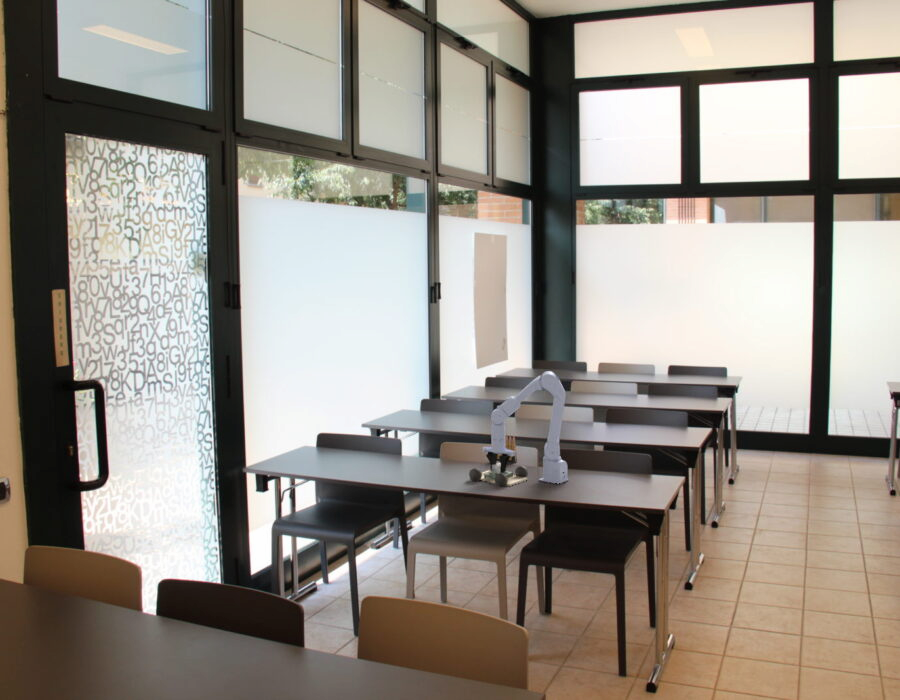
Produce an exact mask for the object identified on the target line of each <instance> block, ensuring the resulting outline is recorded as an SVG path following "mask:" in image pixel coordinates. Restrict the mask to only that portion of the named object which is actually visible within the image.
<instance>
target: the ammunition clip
mask: <svg viewBox="0 0 900 700" xmlns="http://www.w3.org/2000/svg"><path fill="white" fill-rule="evenodd" d="M508 437H509V438H508ZM505 448H506V449H509V450H512V451H515V456H511V457H510V459H509V461H508V463H507V464H516V463H517V461H518V460H517V459H518V458H517V446H516V438H515V436H514V435H513V437H512V436H511V435H509V436H508V435H506V434H505ZM501 455H502V454H498V455H497V461H498V462H500V458H499V456H501Z"/></svg>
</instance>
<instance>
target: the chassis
mask: <svg viewBox="0 0 900 700" xmlns="http://www.w3.org/2000/svg"><path fill="white" fill-rule="evenodd" d="M496 463H500V462H499V461H496ZM489 465H490V464H489ZM489 468H490V469H489V470H486V471H483V472H482V471H481V469H480V468H478V467H475V468H472V469H470V470H469V473H468V476H469V479H470V478H471V479H470V480H471V481H473V480H474V481H473V482H478V481H479V480H483V481H482V482H484V481H487V482H486V483H489V482H492V483H491V484H494V483H496V484H495V485H497V486H498V485H500V486H499V487H504V485H506V487H509V486H511V487H513V486H515V484H516V485H518V483H519V484H521V483H524V482H526V480H527V481H528V476H529V471H528V470H529V469H528V468H527V467H526V466H525V465H521V466H520V465H519V466H518V467H516V469H515V473H514V472H512V471H508V470H507V474H504V473H500V474H497V475H492V469H491V465H490V466H489ZM514 474H515V475H514ZM477 480H478V481H477ZM523 481H524V482H523ZM512 485H513V486H512Z"/></svg>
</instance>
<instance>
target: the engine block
mask: <svg viewBox="0 0 900 700" xmlns="http://www.w3.org/2000/svg"><path fill="white" fill-rule="evenodd" d="M507 471H508V465H507V466H506V470H505V472H503V473H504V474H507ZM500 473H501V463H496V464H493V465H492V475H497V474H500Z"/></svg>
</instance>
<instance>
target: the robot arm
mask: <svg viewBox="0 0 900 700" xmlns="http://www.w3.org/2000/svg"><path fill="white" fill-rule="evenodd" d="M543 389H544V390H546V391H548V392H549V393H550V394H551V395H552V397H553V400H552V401H553V402H552V407H551V414H550V415H551V416H550V422H549V423H550V424H549V431H548V435H547V440H546V442H545V444H544V446H543V448H544V450H543V453H544V456H543V457H542V477H541V478H539V479H538V481H541V482H546V483H550V482H551V483H550V484H555V483H557V484H556V485H559V483H560V484H562V483H564V482H567V481H569V478H568V477H569V476H568V473H569V472H568V463H567V461H566V460H563V459H562V456H561V449H560V448H561V447H560V437H561V429H562V423H563V416H564V410H565V403H566V397H567V395H566V393H567V392H566V391H565V388H564V386H563V384H562V382H561V380H560V378H559V376H557V374H556V373H554V372H553V371H551V370H546V371H544V372H543V373H542V374H541V375H538V376H537V377H536V378H534V379H533V380H532V381H530V383H528V384H527V385H526V386H525V387H524V388H523V389H522V390H521V391H520V392H518V394H517V395H515V396H513V395H510V396H509V397H508V396H507V397H506V398H505V401H504V402H502V403H501V404H499V405H497V406H496V408H495V409H493V411H492V412H491V415H490V419H491V428H490V429H491V430H490V433H491V435H490V436H491V437H490V438H491V439H490V440H491V446H483V447H481V448H482V451H481V452H482V453H487V454H486V455H485V456H486V458H487V460H488V462H489V465H491V469H492V465H493V464H496V461H497V455H498V454H502V455H501V456H499V458H500V463H501V473H503V472H505V470H506V466H507V467H508V464H509V463H508V461H509V459H510V457H511V456H515V451H512V450H509V449H506V448H505V438H506V426H505V425H506V423H505V421H506V418H510V416H511V415H512V414H514V413H515V412H516V411H517V410H518V409H520V408H521V403H522V402H523V401H524V400H525V399H526V398H528V397H529V396H531V394H533V393H534V392H536V391H542V390H543Z"/></svg>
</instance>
